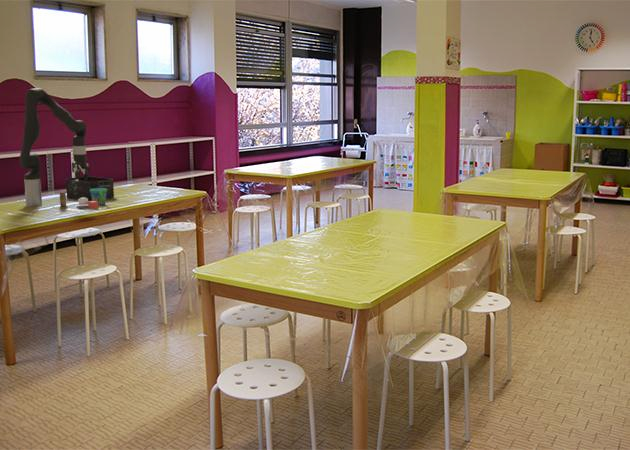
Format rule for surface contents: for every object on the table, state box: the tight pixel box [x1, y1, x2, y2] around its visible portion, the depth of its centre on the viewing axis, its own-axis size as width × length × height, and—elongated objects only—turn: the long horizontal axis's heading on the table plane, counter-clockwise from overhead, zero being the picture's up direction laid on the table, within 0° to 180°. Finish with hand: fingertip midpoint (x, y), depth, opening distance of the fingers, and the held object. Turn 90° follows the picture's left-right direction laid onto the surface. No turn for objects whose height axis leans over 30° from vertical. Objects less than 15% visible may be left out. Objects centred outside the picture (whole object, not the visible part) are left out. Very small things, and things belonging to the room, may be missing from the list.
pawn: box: [59, 191, 69, 210], centre depth 413 cm, size 5×5×10 cm
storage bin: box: [65, 175, 115, 202], centre depth 458 cm, size 29×19×13 cm
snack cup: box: [90, 188, 107, 206], centre depth 430 cm, size 16×10×10 cm
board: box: [58, 201, 99, 214], centre depth 413 cm, size 19×16×5 cm
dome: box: [77, 198, 89, 205], centre depth 416 cm, size 6×6×4 cm
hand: (81, 179), depth 413 cm, fingers open, 8 cm apart
